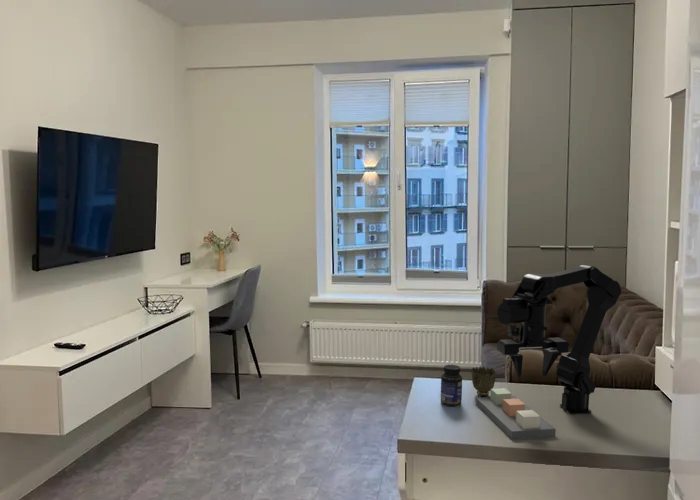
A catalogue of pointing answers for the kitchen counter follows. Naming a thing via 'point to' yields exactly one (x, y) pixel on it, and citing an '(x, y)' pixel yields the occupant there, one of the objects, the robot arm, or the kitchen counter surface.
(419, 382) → the kitchen counter surface
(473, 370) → the cup
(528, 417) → the cream button
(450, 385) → the pill bottle
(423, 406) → the kitchen counter surface
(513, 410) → the terracotta button
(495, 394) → the sage button
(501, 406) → the button board
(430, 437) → the kitchen counter surface
